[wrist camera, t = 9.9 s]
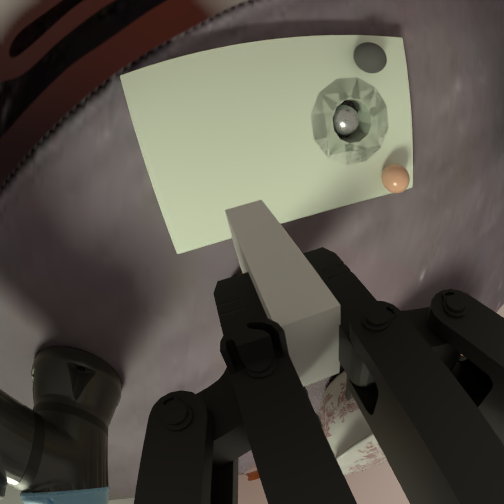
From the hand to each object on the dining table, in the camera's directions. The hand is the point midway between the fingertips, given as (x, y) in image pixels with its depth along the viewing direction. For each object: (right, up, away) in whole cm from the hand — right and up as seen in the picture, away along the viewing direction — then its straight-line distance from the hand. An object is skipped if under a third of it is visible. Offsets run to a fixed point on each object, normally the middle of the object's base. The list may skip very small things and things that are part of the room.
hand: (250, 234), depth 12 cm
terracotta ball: (+15, +7, +17) cm, 24 cm away
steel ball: (+9, +13, +15) cm, 22 cm away
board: (+4, +12, +16) cm, 20 cm away
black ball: (+11, +17, +10) cm, 23 cm away
